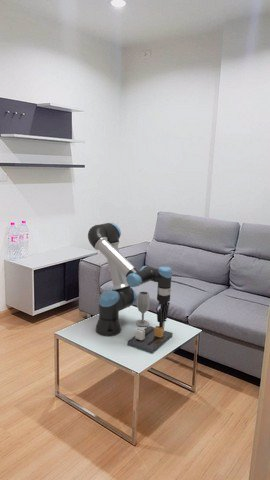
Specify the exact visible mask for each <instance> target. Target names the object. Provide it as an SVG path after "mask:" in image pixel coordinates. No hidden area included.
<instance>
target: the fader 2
mask: <svg viewBox="0 0 270 480" xmlns="http://www.w3.org/2000/svg"><path fill="white" fill-rule="evenodd" d="M154 327H155V329H154V336H157V337H160V338H161V337H162V336H163V333H164V330H165V327H164V328H163V327H160V326H159V325H156V326H154Z"/></svg>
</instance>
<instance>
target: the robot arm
mask: <svg viewBox="0 0 270 480" xmlns="http://www.w3.org/2000/svg"><path fill="white" fill-rule="evenodd" d="M121 235H122V233H121V228H120V227H119V225H117V223H114V222H106V223H102V224H95V225H93V226H91V227H90V229H89V230H88V232H87V238H88V241H89V244H90V245H91V247H92V248H94V250H95V251H99V252H100V253H101V254H102V255H103V256H104V257H105V258H106V261H107V265H108V269H109V273H110V276H111V278H110V279H111V281H112V285H113V286H112V289H111V290H105V291H104V292H102V293H101V294H100V295H99V300H98V303H99V304H98V306H99V307H98V320H97V322H96V325H95V332H96V333H97V334H98V335H101V336H104V337H113V336H117V335H118V334H120V333H121V332H122V325H121V324H120V323H121V321H120V319H119V314H120V313H119V312H120V311H123V310H124V309H127V308H129V307H131V306H132V305H134V304H135V302H137V293H136V291H135V289H134V288H136V287H139V286H142V285H143V284H146V283H149V282H155V283H157V290H156V291H157V292H156V293H157V294H156V300H157V302H158V306H157V307H156V308H155V311H156V321H157V323H158V326H160V327H163V328H164V329H165V323H166V322H167V321H168V315H169V314H168V313H169V308H170V304H171V302H170V301H171V292H172V289H171V287H172V277H173V274H172V273H173V271H172V270H173V269H172V268H171V267H169V266H159V267H158V268H155V267H153V266H150V265H148V266H147V265H143V266H141V268H140V269H139V270H138V268H136V267H135V266H134V265H133V264H132V263H131V261H129V260H128V259H127V258H126V257H125V256H124V255H123V254H122V253H121V252H120V249H119V243H120V238H121Z"/></svg>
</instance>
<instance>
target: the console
mask: <svg viewBox="0 0 270 480" xmlns="http://www.w3.org/2000/svg"><path fill="white" fill-rule="evenodd" d="M155 327H156V326H153V325H148V326H147V327H145V328H143V330H145V339H143V340H139V339H136V338H135V335H134V336H132V337H131V338H130V339H129V340H127V346H130V347H131V348H136V349H139V350H140V351H144V352H146V353H149V354H154V353H155V352H156V351H157V350H159V349H160V348H161V347H163V345H164V344H165V343H167V342H168V341H169V340H170V339H171V338H172V337H173V332H172V331H171V332H170V331H168V330H165V329H164V333H163V336H162V337H161V338H160V337H157V336H154V329H155Z"/></svg>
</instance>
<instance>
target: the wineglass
mask: <svg viewBox="0 0 270 480" xmlns="http://www.w3.org/2000/svg"><path fill="white" fill-rule="evenodd" d="M150 299H151V298H150V294H149V292H148V291H145V290H143V291H142V290H141V291H139V292H138V295H137V298H136V306H137V311H138V312H140V313H141V319H139V320H137V321H135V324H136V326H139V327H140V328H141V327H142V328H143V327H145V328H147V327H148V326H150V322H149V320H146V319H144V318H145V313H147V312H148V311H149V309H150V306H151V305H150V304H151V300H150Z"/></svg>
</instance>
